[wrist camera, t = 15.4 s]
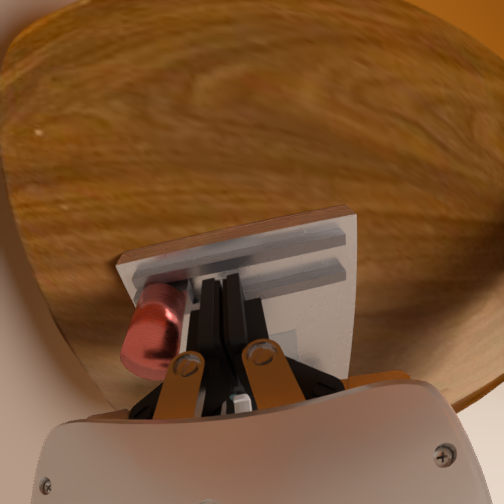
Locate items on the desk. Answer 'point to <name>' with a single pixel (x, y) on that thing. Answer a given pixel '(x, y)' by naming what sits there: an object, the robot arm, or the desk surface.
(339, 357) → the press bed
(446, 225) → the desk surface
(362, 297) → the desk surface
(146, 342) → the lever
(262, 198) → the desk surface
